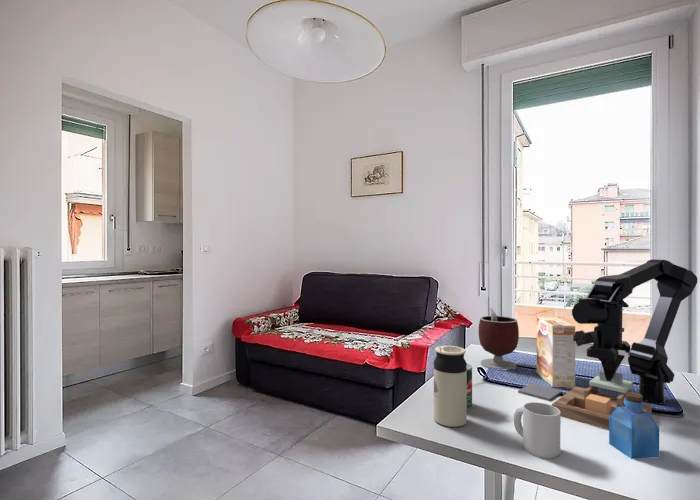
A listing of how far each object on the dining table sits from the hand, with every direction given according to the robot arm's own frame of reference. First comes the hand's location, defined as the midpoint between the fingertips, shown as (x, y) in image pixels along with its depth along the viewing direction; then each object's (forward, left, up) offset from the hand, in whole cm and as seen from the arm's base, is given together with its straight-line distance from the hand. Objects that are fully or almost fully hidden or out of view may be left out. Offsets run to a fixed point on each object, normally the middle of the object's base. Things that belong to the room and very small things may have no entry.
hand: (608, 380), depth 108 cm
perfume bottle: (+23, +10, -7) cm, 26 cm away
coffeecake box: (-12, -18, -7) cm, 23 cm away
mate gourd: (-15, -39, -7) cm, 42 cm away
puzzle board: (+7, 0, -7) cm, 10 cm away
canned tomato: (+29, -29, -7) cm, 42 cm away
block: (+10, 0, -7) cm, 12 cm away
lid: (-2, 0, -2) cm, 3 cm away
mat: (+3, -17, -7) cm, 19 cm away
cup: (+37, -5, -7) cm, 38 cm away
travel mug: (+39, -25, -7) cm, 47 cm away
